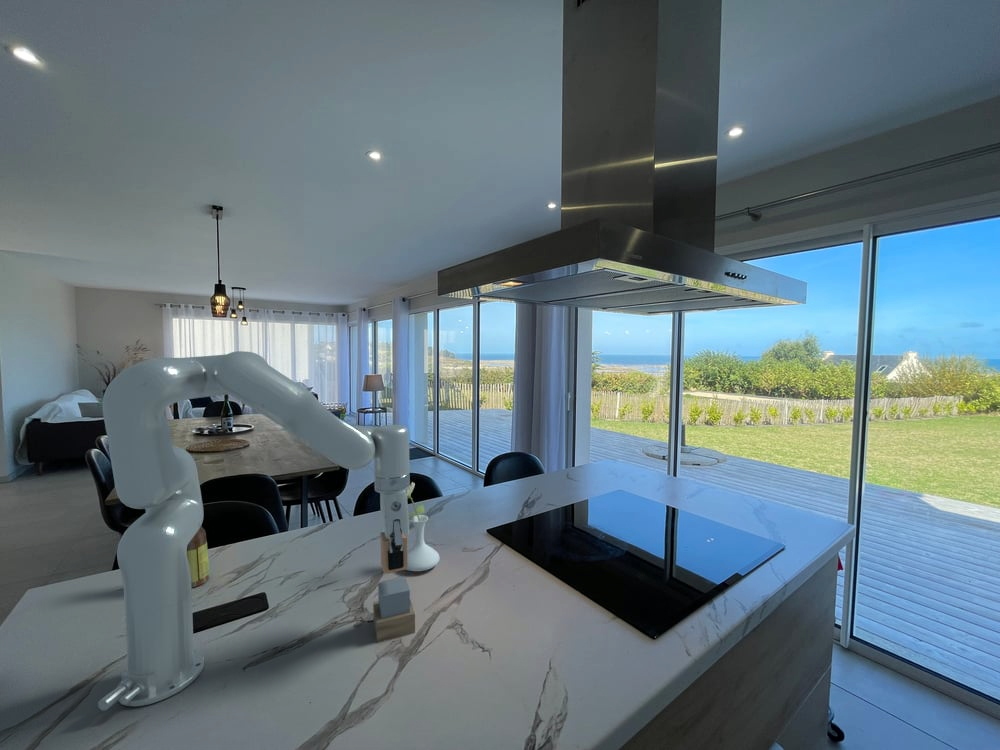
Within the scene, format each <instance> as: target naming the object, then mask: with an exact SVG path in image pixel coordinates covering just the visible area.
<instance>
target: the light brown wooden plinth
mask: <svg viewBox="0 0 1000 750" xmlns="http://www.w3.org/2000/svg"><path fill="white" fill-rule="evenodd" d="M372 603H373V604H372V610H373V613H372V614H373V615H372V616H373V617H372V618H373V624H374V625H373V627H374V632H375V637H376V643H380V642H384V640H385V641H387V640H392V639H396V638H400V637H403V636H408V635H411V634H415V633H416V614H415V613H416V612H415V610H414V607H413V604H412V601H411V599H410V613H405V614H401V615H397V616H392V617H388V618H384V619H381V613H380V608H379V600H376V601H373V602H372Z"/></svg>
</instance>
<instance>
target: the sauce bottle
mask: <svg viewBox="0 0 1000 750" xmlns="http://www.w3.org/2000/svg"><path fill="white" fill-rule="evenodd" d="M208 551H209V550H208V541H207V533H206V530H205V528H204V527H203V526H202V525H201V527H200V528H199V530H198V532H197V533H196V534H195V536H194V537H193V538H192V539H191V541H190V542H189V544H188V545H187V559H188V562H189V566H190V572H191V588H197V587H200V586H202V585H204V584H206V583H207V582H208V581H209V579H210V575H209V574H210V563H209V554H208V553H209V552H208Z"/></svg>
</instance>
